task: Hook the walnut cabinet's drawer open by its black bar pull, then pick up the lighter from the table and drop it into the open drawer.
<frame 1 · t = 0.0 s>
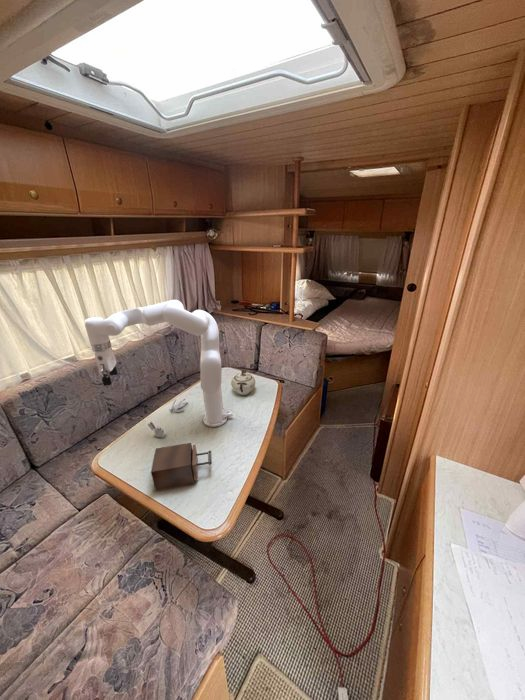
hand: (111, 379, 126), 31 cm above the table, tool pointing down, fingers open, 9 cm apart
cabinet: (176, 474, 114), on the table
sugar bowl: (243, 391, 172), on the table
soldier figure: (179, 409, 157), on the table
drawer: (187, 463, 113), point 5 cm above the table, slide at 0.5 cm
lighter: (157, 436, 136), on the table
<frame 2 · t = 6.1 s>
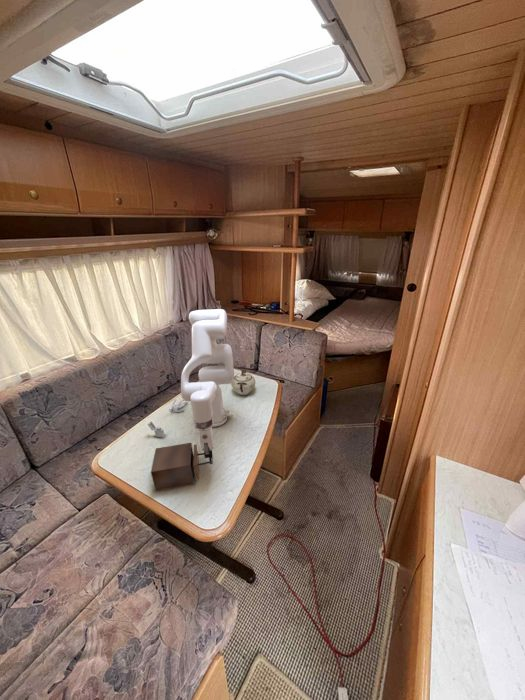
hand: (208, 456, 114), 7 cm above the table, tool pointing down, fingers closed
drawer: (188, 463, 113), point 5 cm above the table, slide at 1.0 cm, touching gripper
everything else where it was.
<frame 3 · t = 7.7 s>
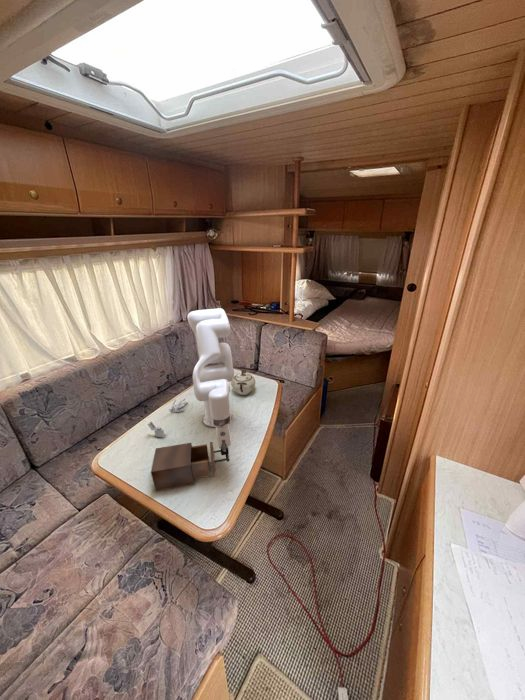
hand: (224, 453, 115), 7 cm above the table, tool pointing down, fingers closed
drawer: (205, 460, 114), point 5 cm above the table, slide at 7.7 cm, touching gripper
everything else where it was.
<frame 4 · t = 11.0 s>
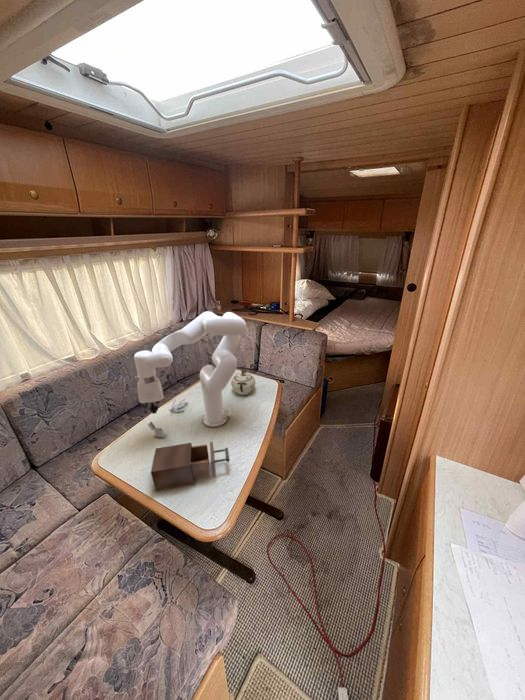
hand: (154, 412, 128), 16 cm above the table, tool pointing down, fingers closed
drawer: (205, 460, 114), point 5 cm above the table, slide at 7.7 cm
everything else where it was.
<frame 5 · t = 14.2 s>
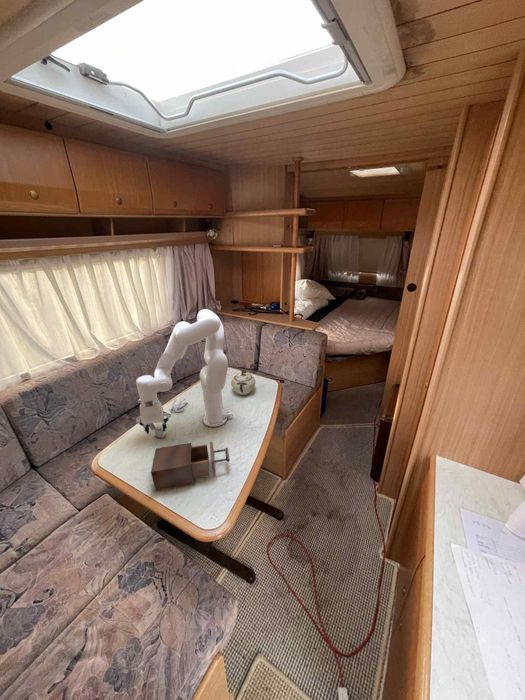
hand: (156, 430, 135), 3 cm above the table, tool pointing down, fingers closed on lighter, 7 cm apart
lighter: (157, 436, 136), on the table, touching gripper
everything else where it was.
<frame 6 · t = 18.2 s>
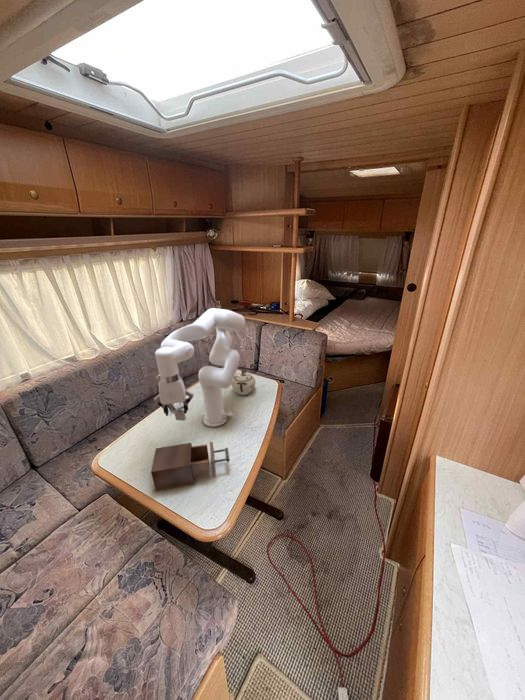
hand: (176, 412, 117), 22 cm above the table, tool pointing down, fingers closed on lighter, 7 cm apart
lighter: (177, 419, 119), point 18 cm above the table, touching gripper
everything else where it was.
when the fingers open (12 cm above the table, at t = 22.6 s): lighter stays where it is, resting on drawer.
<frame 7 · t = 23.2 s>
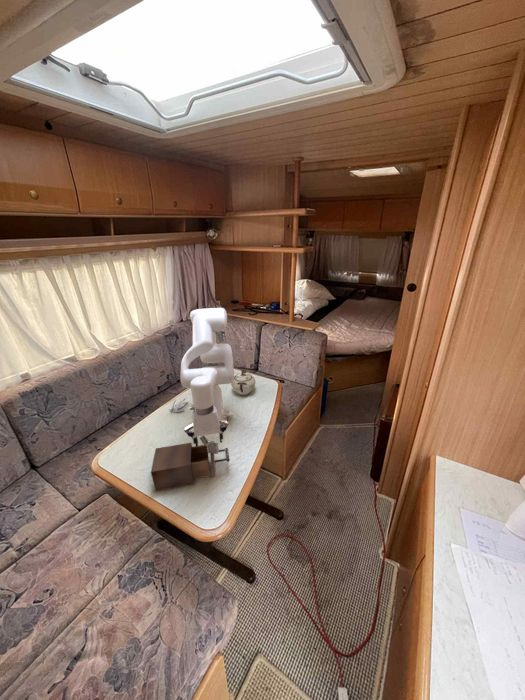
hand: (208, 442, 111), 14 cm above the table, tool pointing down, fingers open, 9 cm apart
drawer: (205, 460, 114), point 5 cm above the table, slide at 7.7 cm, touching lighter
lighter: (210, 451, 113), point 9 cm above the table, touching drawer
everything else where it was.
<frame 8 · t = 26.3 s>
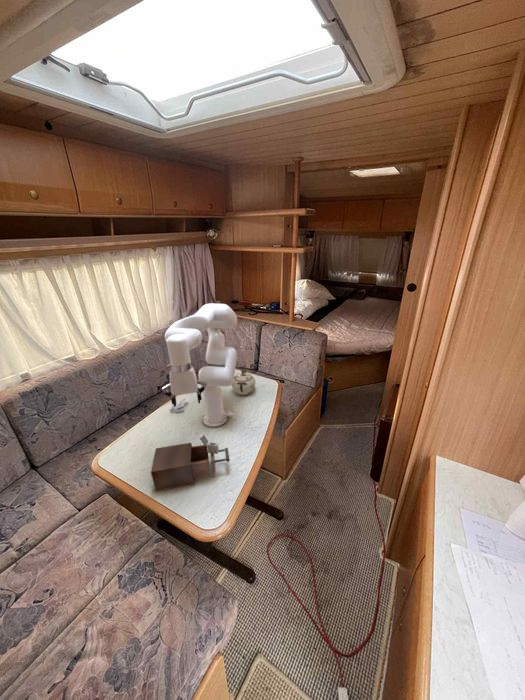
hand: (187, 403, 112), 28 cm above the table, tool pointing down, fingers open, 9 cm apart
nothing on the table moved.
at the end: drawer slide at 7.7 cm; lighter inside the target area in the drawer (1.5 cm from its centre), point 9.0 cm above the cabinet's base; the gripper is holding nothing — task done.
